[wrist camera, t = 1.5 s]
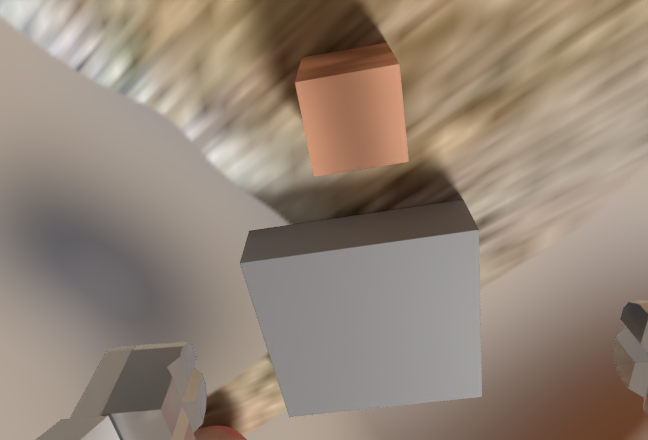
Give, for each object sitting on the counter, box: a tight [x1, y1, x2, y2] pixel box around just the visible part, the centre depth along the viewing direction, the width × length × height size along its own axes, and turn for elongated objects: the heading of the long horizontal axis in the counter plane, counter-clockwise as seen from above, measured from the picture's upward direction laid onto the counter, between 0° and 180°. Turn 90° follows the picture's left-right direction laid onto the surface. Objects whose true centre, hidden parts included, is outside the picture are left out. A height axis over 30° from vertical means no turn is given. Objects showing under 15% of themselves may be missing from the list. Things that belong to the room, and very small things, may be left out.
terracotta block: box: [295, 42, 409, 177], centre depth 26 cm, size 5×5×6 cm
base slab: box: [240, 200, 482, 417], centre depth 35 cm, size 15×15×4 cm
